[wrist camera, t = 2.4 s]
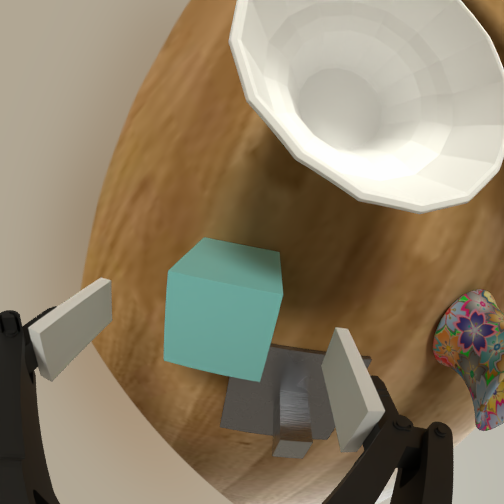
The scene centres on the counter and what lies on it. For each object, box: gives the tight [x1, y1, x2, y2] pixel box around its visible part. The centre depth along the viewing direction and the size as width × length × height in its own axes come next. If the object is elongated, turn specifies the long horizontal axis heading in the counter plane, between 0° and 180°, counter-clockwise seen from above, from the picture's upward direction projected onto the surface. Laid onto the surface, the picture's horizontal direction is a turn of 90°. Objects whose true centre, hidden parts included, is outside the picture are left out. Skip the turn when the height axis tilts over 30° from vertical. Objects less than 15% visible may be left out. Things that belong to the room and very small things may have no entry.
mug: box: [433, 289, 504, 431], centre depth 16 cm, size 12×9×11 cm
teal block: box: [164, 237, 283, 382], centre depth 18 cm, size 6×6×8 cm
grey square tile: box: [220, 344, 372, 459], centre depth 21 cm, size 12×12×6 cm
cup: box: [229, 0, 504, 214], centre depth 12 cm, size 12×12×11 cm
